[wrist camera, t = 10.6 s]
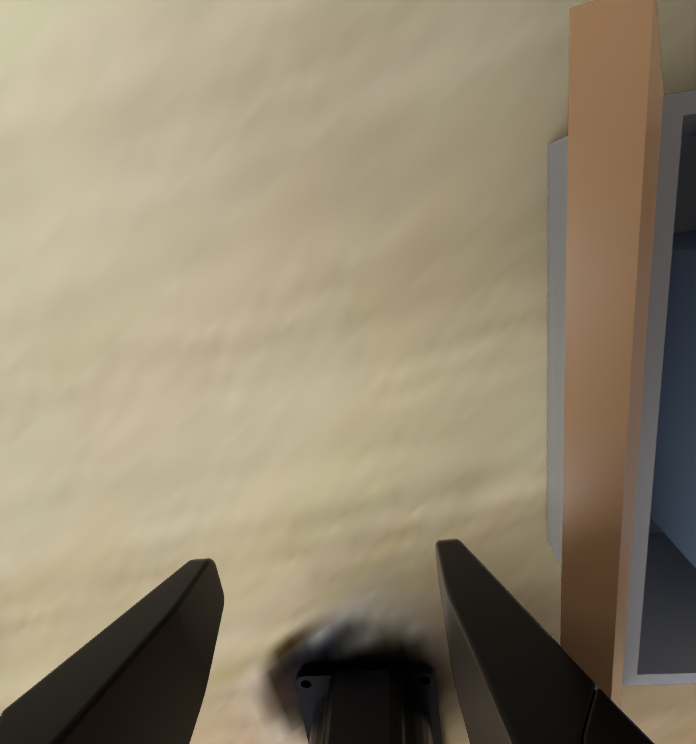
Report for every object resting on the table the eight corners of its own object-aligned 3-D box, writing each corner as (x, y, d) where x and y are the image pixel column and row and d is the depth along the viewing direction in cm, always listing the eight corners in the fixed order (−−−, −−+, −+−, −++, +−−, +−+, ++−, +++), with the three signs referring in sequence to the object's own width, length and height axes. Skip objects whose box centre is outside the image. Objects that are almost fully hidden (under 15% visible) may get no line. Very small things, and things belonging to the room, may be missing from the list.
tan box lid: (593, 1000, 8) (556, 973, 8) (622, 687, 13) (597, 678, 13) (655, -20, 4) (569, 9, 4) (663, 94, 9) (625, 102, 9)
